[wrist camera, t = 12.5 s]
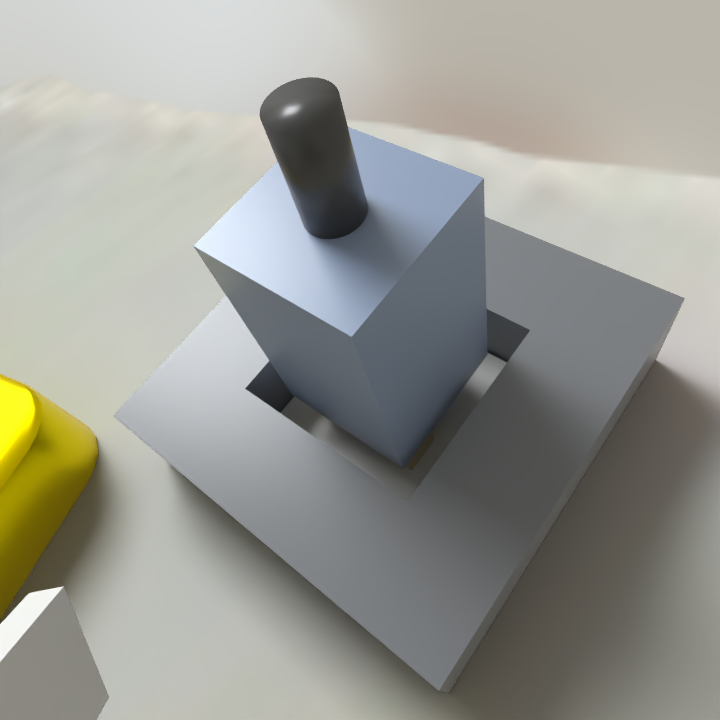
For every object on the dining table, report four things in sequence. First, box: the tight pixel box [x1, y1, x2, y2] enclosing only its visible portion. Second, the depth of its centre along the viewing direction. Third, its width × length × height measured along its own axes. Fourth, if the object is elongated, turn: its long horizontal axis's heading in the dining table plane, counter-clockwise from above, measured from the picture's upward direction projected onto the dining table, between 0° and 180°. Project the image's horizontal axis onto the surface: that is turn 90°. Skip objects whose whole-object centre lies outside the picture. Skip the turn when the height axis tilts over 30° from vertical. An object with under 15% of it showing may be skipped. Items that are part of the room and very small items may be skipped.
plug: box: [194, 78, 487, 470], centre depth 17 cm, size 5×5×13 cm
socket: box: [113, 217, 685, 693], centre depth 22 cm, size 14×14×4 cm
